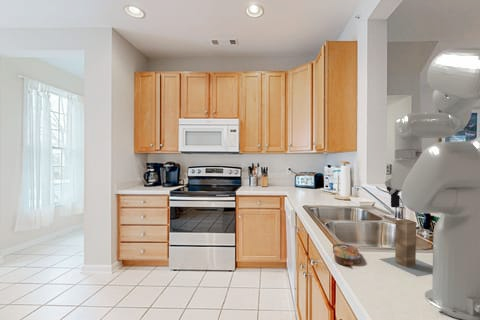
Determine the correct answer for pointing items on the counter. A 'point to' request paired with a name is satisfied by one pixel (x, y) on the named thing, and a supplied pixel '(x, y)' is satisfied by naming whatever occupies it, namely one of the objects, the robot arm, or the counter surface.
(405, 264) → the block
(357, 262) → the tin
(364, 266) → the counter surface
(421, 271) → the mat
